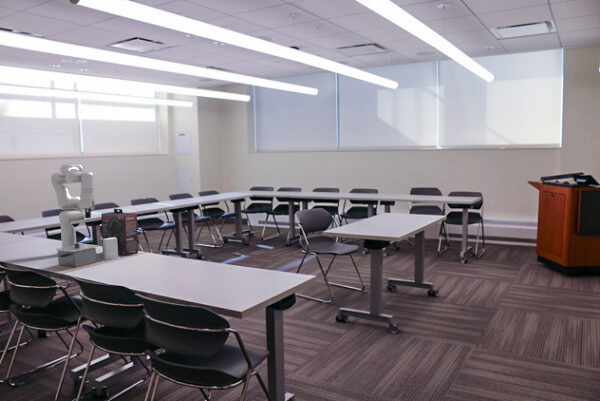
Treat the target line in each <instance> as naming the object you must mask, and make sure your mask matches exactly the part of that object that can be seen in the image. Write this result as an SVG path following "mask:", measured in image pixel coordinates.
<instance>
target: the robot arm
mask: <svg viewBox="0 0 600 401" xmlns="http://www.w3.org/2000/svg"><path fill="white" fill-rule="evenodd" d="M59 170H60V172H59V171H58V172H54V173H53V174H51V176H50V178H51V179H50V181H51V185H52V188H53V189H54V191H55V193H56V194H55V195H56V199H57V203H58V207H59V208H60V209H61V210H63V211H60V213H59V214H58V220H59V225H60V233H61V236H60V237H61V239H60V240H61V247H60V248H63V247H68V246H73V245H75V243H77V233H76V232H77V231H76V228H75V226H74V225H73V224H77V223H83V222H85V220H86V219H90V218H92V213H91V212H92V211H93V210H95V207H96V197H95V193H94V174H93V172H90V171H84V168H83V166H82V165H81V163H65V164H62V165H61V166H60V169H59ZM77 183H80V190H81V192H80V194H79V195H70V191H69V189H68V187H66V186H65V184H67V185H68V184H77Z"/></svg>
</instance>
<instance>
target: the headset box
mask: <svg viewBox="0 0 600 401" xmlns="http://www.w3.org/2000/svg"><path fill="white" fill-rule="evenodd" d="M123 211H124V210H123V208H113V211H111V212H109V211H108V212H103V213H101V214H100V215H101V236H102V237H101V239H102V240H101V242H102V244H101V245H103V239H105V238H112V237H115V238H117V246H118V256H124V257H127V256H131V255H134V254H135V255H136V254H138V253H139V244H138V243H139V242H138V214H137V213H132V212H123ZM102 254H104V250H103V249H102Z"/></svg>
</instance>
